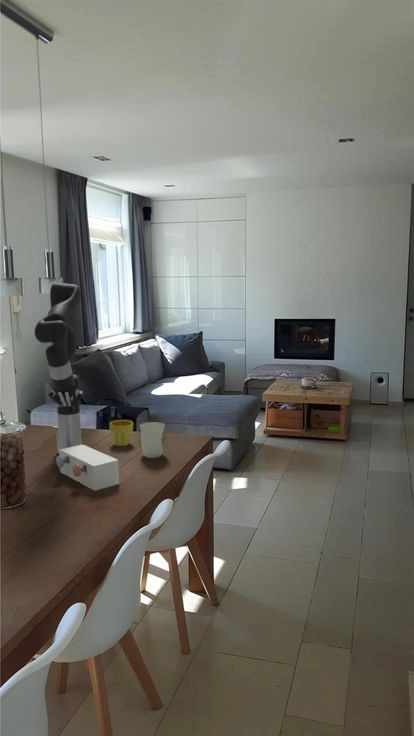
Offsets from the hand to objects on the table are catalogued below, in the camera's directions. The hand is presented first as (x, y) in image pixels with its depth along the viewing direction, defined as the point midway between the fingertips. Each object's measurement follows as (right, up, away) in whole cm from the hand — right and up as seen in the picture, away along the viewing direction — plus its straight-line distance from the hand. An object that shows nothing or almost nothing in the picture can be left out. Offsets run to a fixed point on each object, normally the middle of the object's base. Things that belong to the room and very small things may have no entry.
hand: (70, 413), depth 210 cm
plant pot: (+12, -18, +48) cm, 52 cm away
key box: (+6, -24, +5) cm, 26 cm away
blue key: (-2, -20, +6) cm, 21 cm away
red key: (+7, -21, -4) cm, 23 cm away
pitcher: (+27, -20, +32) cm, 46 cm away
